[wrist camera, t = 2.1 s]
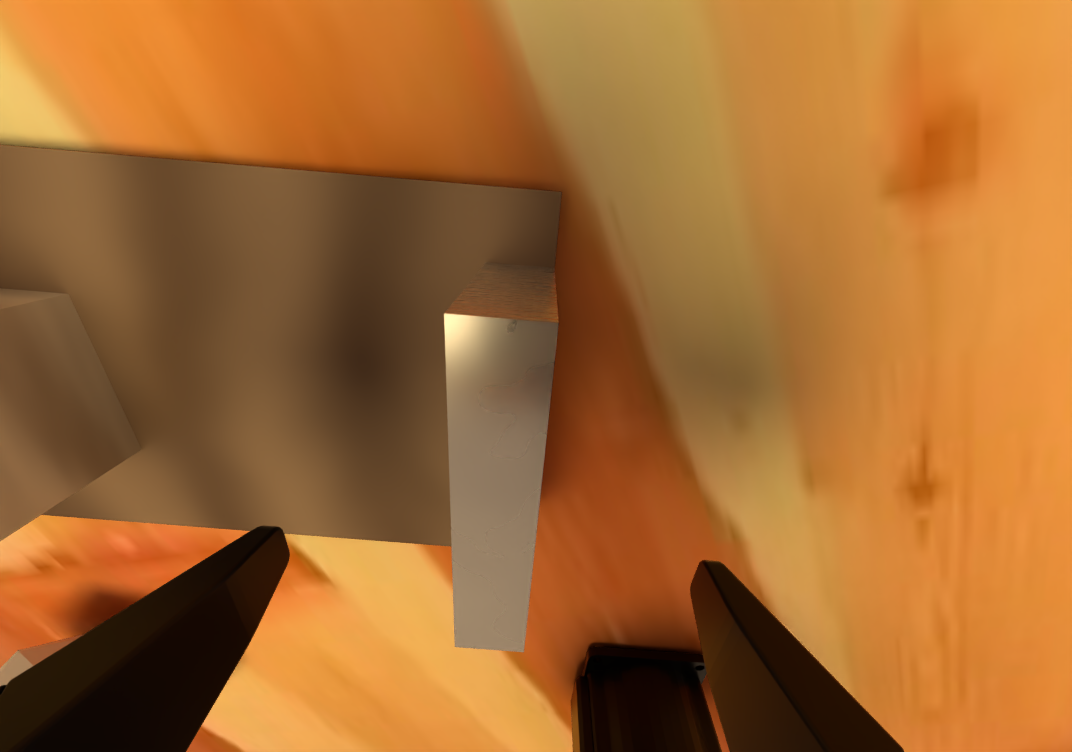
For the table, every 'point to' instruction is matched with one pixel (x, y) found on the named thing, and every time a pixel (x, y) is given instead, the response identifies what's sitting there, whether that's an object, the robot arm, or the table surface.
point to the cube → (52, 408)
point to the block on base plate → (310, 352)
